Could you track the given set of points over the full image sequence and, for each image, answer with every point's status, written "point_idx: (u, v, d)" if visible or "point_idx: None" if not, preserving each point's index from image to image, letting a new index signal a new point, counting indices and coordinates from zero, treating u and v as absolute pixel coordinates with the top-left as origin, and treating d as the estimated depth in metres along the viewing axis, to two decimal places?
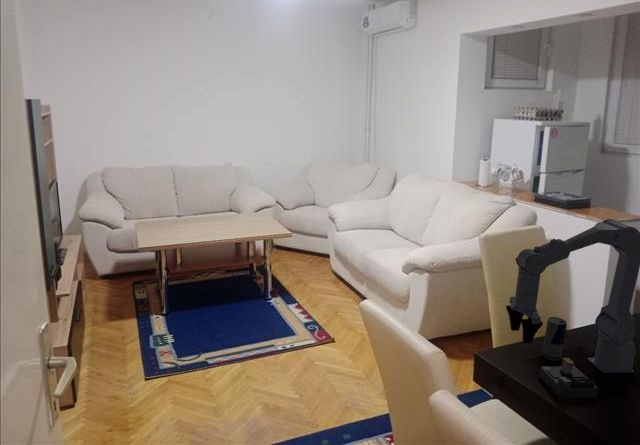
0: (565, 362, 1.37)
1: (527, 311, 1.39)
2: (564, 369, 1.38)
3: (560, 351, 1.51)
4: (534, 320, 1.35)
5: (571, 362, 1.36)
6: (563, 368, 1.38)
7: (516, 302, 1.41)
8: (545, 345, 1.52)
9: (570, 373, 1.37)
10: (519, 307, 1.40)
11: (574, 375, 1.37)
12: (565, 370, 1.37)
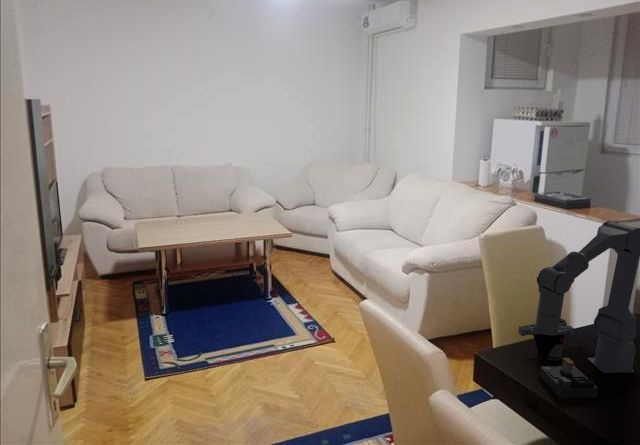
0: (565, 362, 1.37)
1: (534, 327, 1.35)
2: (564, 369, 1.38)
3: (560, 351, 1.51)
4: (519, 329, 1.34)
5: (571, 362, 1.36)
6: (563, 368, 1.38)
7: None
8: None
9: (570, 373, 1.37)
10: None
11: (574, 375, 1.37)
12: (565, 370, 1.37)
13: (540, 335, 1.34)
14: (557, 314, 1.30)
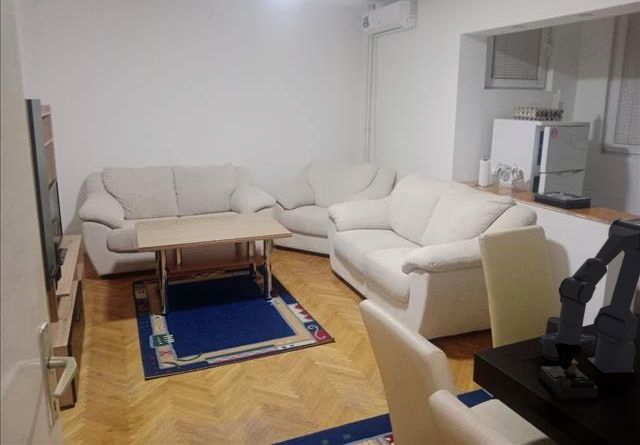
0: None
1: (556, 336, 1.36)
2: (568, 369, 1.38)
3: None
4: (540, 338, 1.36)
5: (575, 362, 1.36)
6: None
7: None
8: (545, 345, 1.52)
9: (574, 373, 1.37)
10: None
11: (574, 375, 1.37)
12: (569, 370, 1.37)
13: (562, 344, 1.35)
14: (580, 323, 1.32)
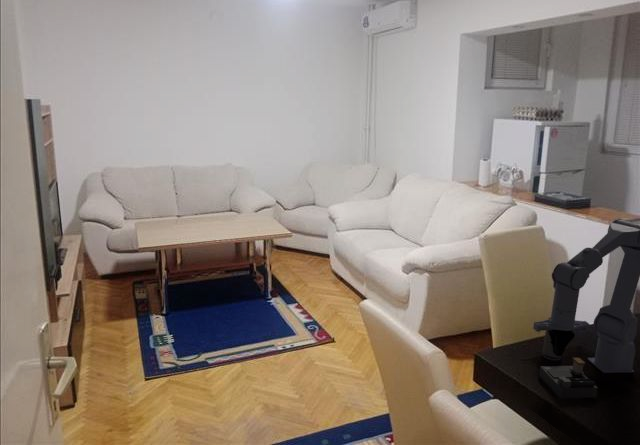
0: (576, 362, 1.37)
1: (550, 322, 1.35)
2: (575, 369, 1.38)
3: None
4: (534, 325, 1.34)
5: (582, 362, 1.37)
6: (574, 368, 1.38)
7: None
8: (545, 345, 1.52)
9: (581, 373, 1.37)
10: None
11: (574, 375, 1.37)
12: (576, 370, 1.37)
13: (555, 330, 1.34)
14: (573, 309, 1.30)
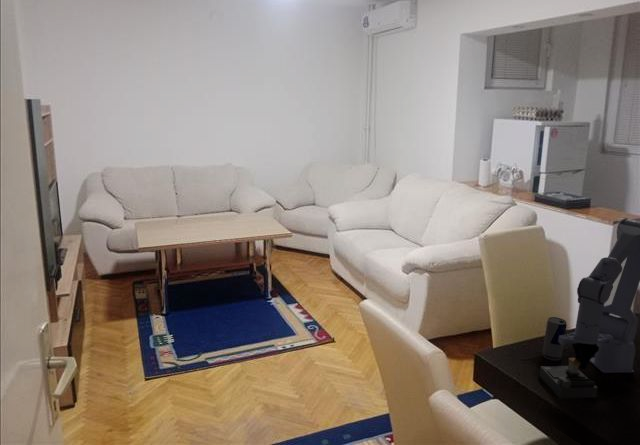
0: (571, 362, 1.37)
1: (574, 336, 1.36)
2: (570, 369, 1.38)
3: (560, 351, 1.51)
4: (559, 338, 1.36)
5: (577, 362, 1.36)
6: (569, 368, 1.38)
7: None
8: (545, 345, 1.52)
9: (576, 373, 1.37)
10: None
11: (574, 375, 1.37)
12: (571, 370, 1.37)
13: (580, 344, 1.35)
14: (599, 323, 1.32)
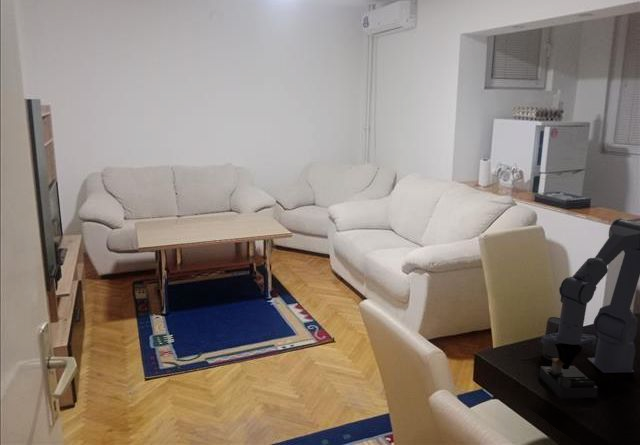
0: (555, 362, 1.37)
1: (557, 336, 1.36)
2: (553, 369, 1.37)
3: None
4: (541, 338, 1.36)
5: (560, 362, 1.36)
6: (552, 368, 1.38)
7: None
8: (545, 345, 1.52)
9: (559, 373, 1.37)
10: None
11: (574, 375, 1.37)
12: (554, 370, 1.37)
13: (562, 344, 1.35)
14: (581, 323, 1.32)
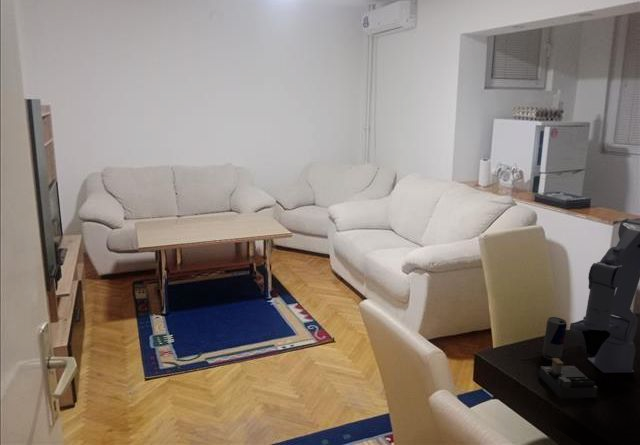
0: (555, 362, 1.37)
1: (585, 323, 1.34)
2: (553, 369, 1.37)
3: (560, 351, 1.51)
4: (570, 326, 1.33)
5: (560, 362, 1.36)
6: (552, 368, 1.38)
7: None
8: (545, 345, 1.52)
9: (559, 373, 1.37)
10: None
11: (574, 375, 1.37)
12: (554, 370, 1.37)
13: (591, 330, 1.33)
14: (611, 308, 1.30)
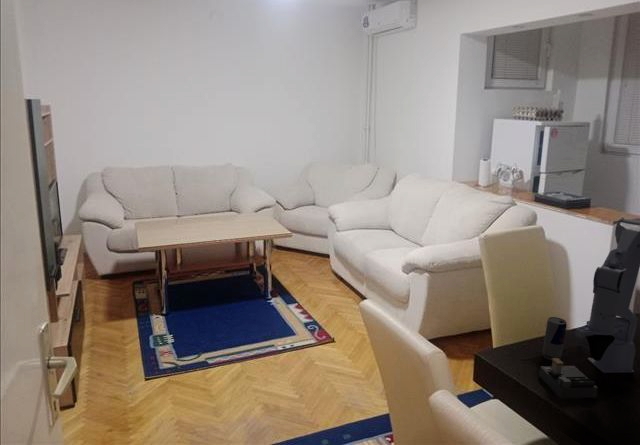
0: (555, 362, 1.37)
1: (590, 327, 1.32)
2: (553, 369, 1.37)
3: (560, 351, 1.51)
4: (576, 332, 1.31)
5: (560, 362, 1.36)
6: (552, 368, 1.38)
7: None
8: (545, 345, 1.52)
9: (559, 373, 1.37)
10: (589, 322, 1.34)
11: (574, 375, 1.37)
12: (554, 370, 1.37)
13: (596, 335, 1.31)
14: (616, 312, 1.29)
